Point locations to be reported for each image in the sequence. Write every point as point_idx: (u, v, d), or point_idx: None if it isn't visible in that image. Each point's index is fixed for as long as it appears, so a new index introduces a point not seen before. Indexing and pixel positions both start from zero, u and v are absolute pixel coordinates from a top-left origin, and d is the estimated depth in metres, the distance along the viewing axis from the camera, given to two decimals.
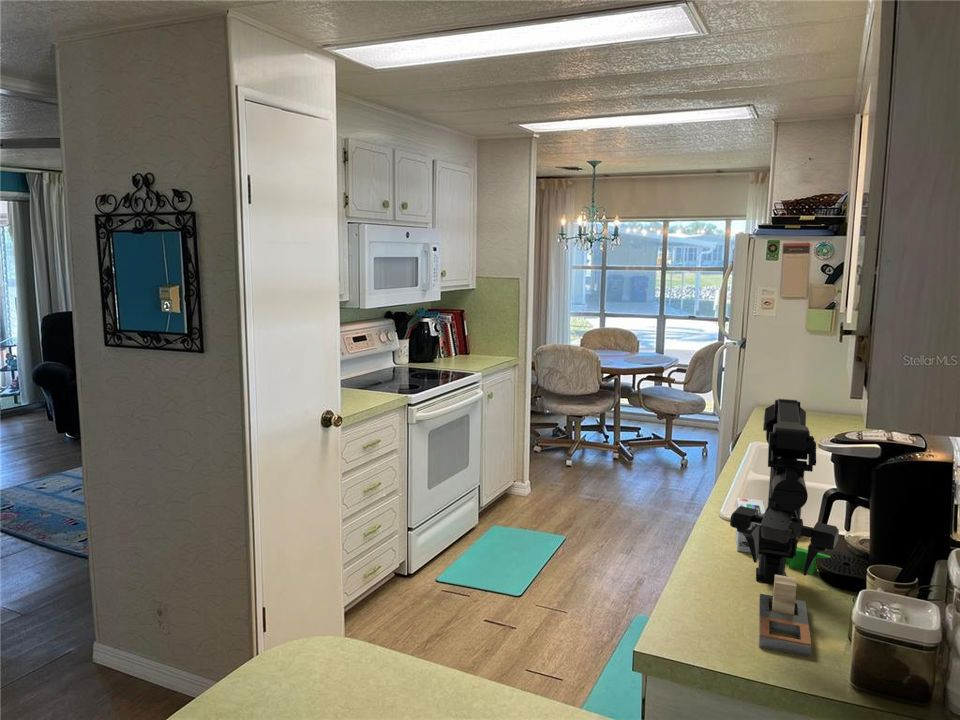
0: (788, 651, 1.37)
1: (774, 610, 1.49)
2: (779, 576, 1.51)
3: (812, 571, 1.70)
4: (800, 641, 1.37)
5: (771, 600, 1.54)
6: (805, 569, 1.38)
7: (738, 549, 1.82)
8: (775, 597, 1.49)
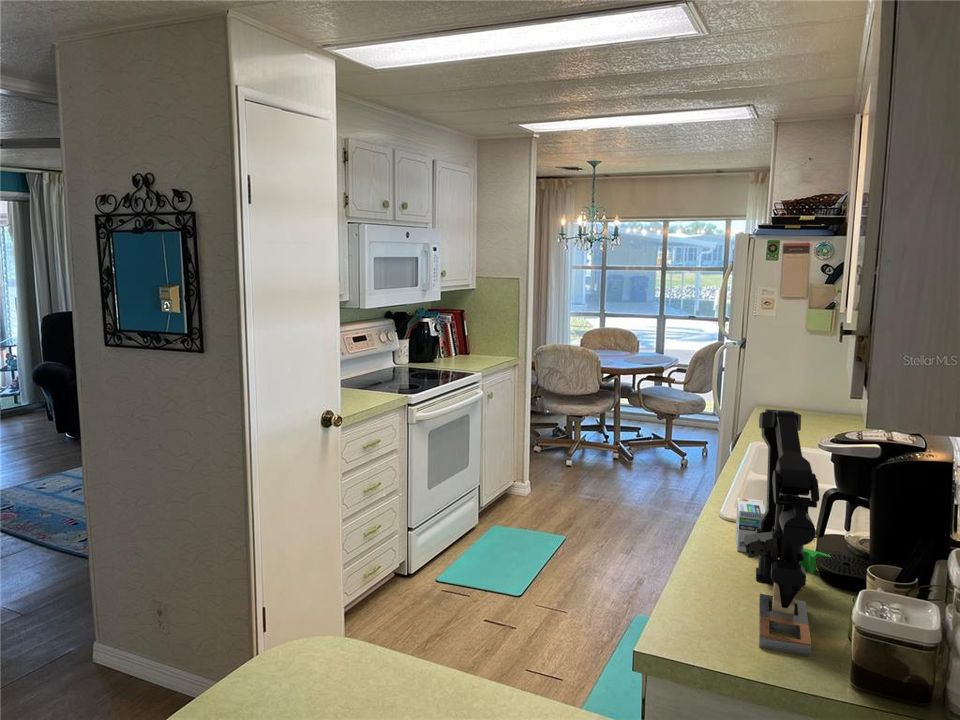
0: (788, 651, 1.37)
1: (774, 610, 1.49)
2: None
3: (813, 570, 1.71)
4: (800, 641, 1.37)
5: (771, 600, 1.54)
6: None
7: (738, 549, 1.82)
8: (775, 597, 1.49)
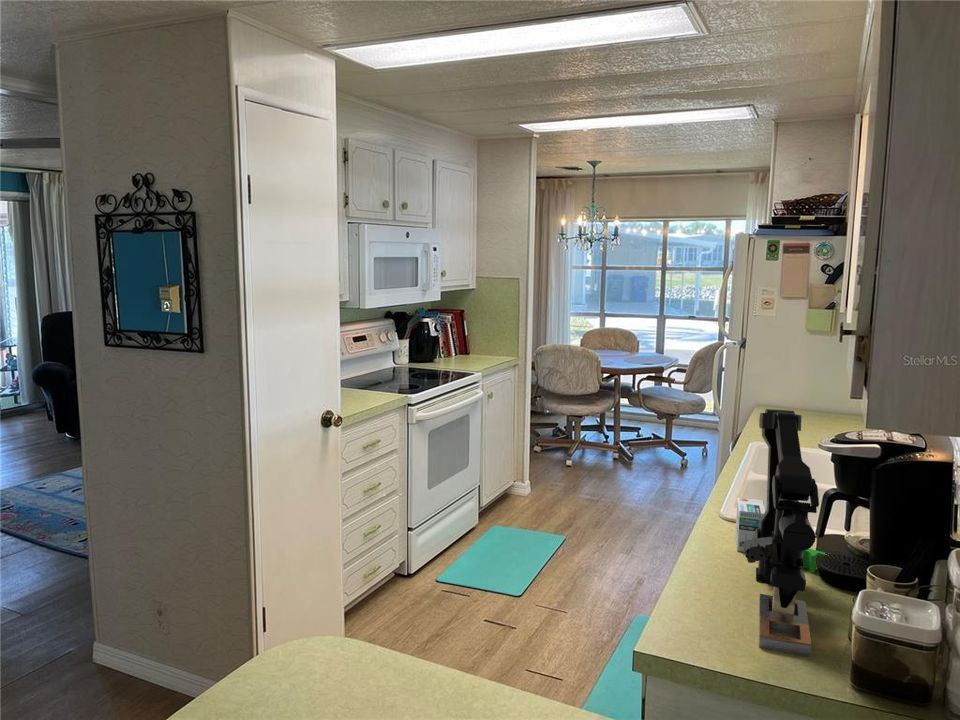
0: (788, 651, 1.37)
1: (774, 610, 1.49)
2: None
3: (813, 570, 1.71)
4: (800, 641, 1.37)
5: (771, 600, 1.54)
6: None
7: (738, 549, 1.82)
8: (775, 597, 1.49)
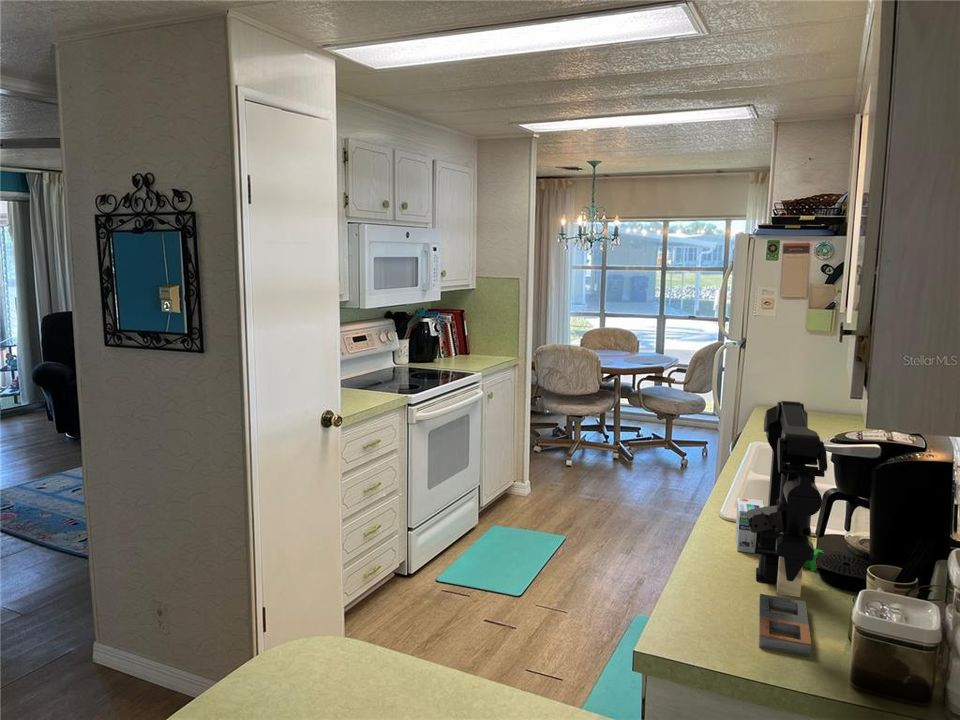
0: (788, 651, 1.37)
1: (779, 584, 1.38)
2: None
3: (814, 568, 1.72)
4: (800, 641, 1.37)
5: (771, 600, 1.54)
6: None
7: (738, 549, 1.82)
8: (780, 569, 1.38)
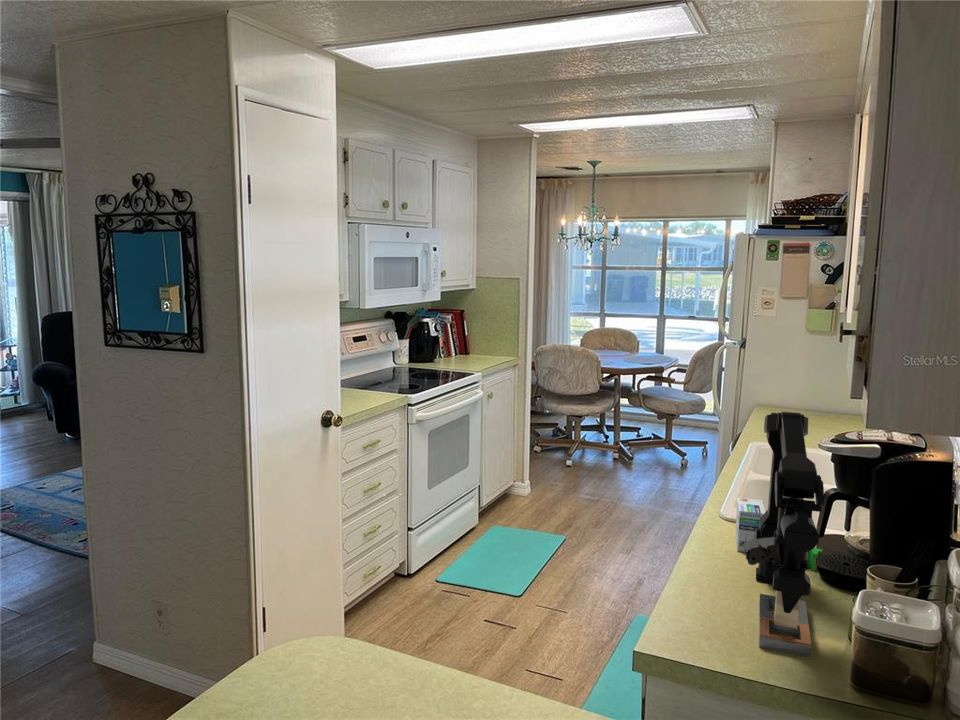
0: (788, 651, 1.37)
1: (777, 615, 1.39)
2: None
3: (815, 568, 1.72)
4: (800, 641, 1.37)
5: (771, 600, 1.54)
6: None
7: (738, 549, 1.82)
8: (778, 601, 1.39)
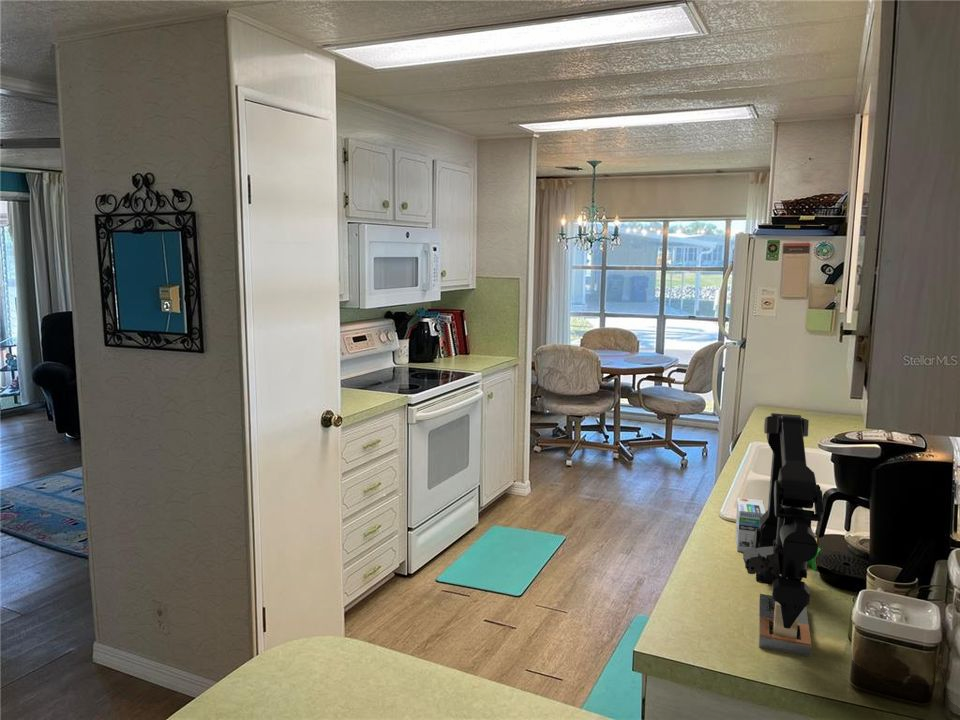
0: (788, 651, 1.37)
1: (775, 634, 1.40)
2: None
3: None
4: (800, 641, 1.37)
5: (771, 600, 1.54)
6: None
7: (738, 549, 1.82)
8: (776, 620, 1.39)
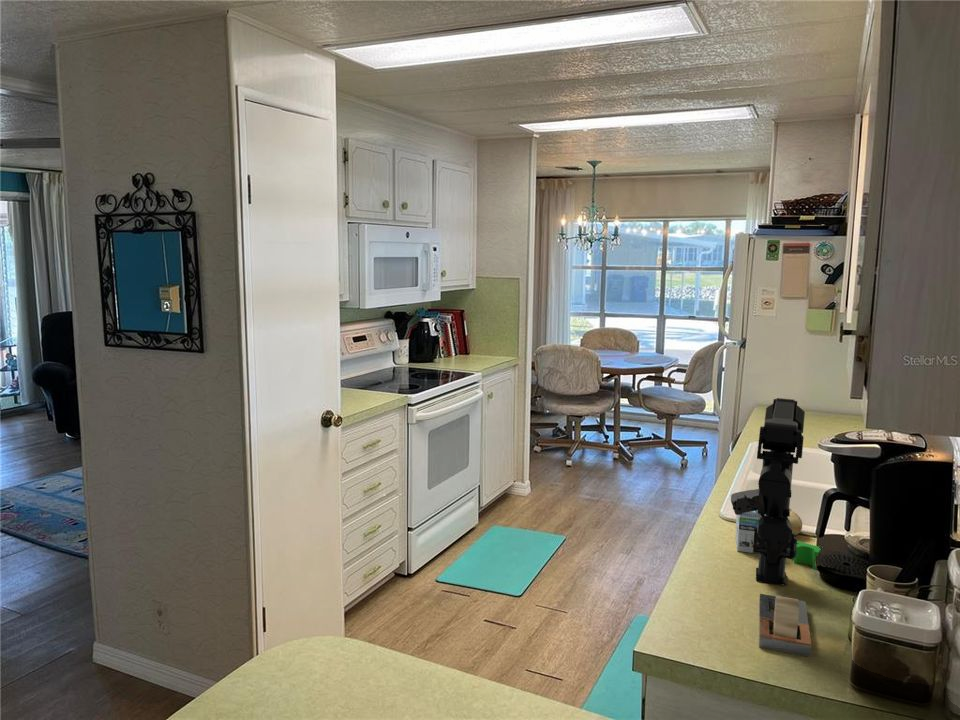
0: (788, 651, 1.37)
1: (775, 634, 1.40)
2: (780, 597, 1.42)
3: None
4: (800, 641, 1.37)
5: (771, 600, 1.54)
6: None
7: (738, 549, 1.82)
8: (776, 620, 1.39)
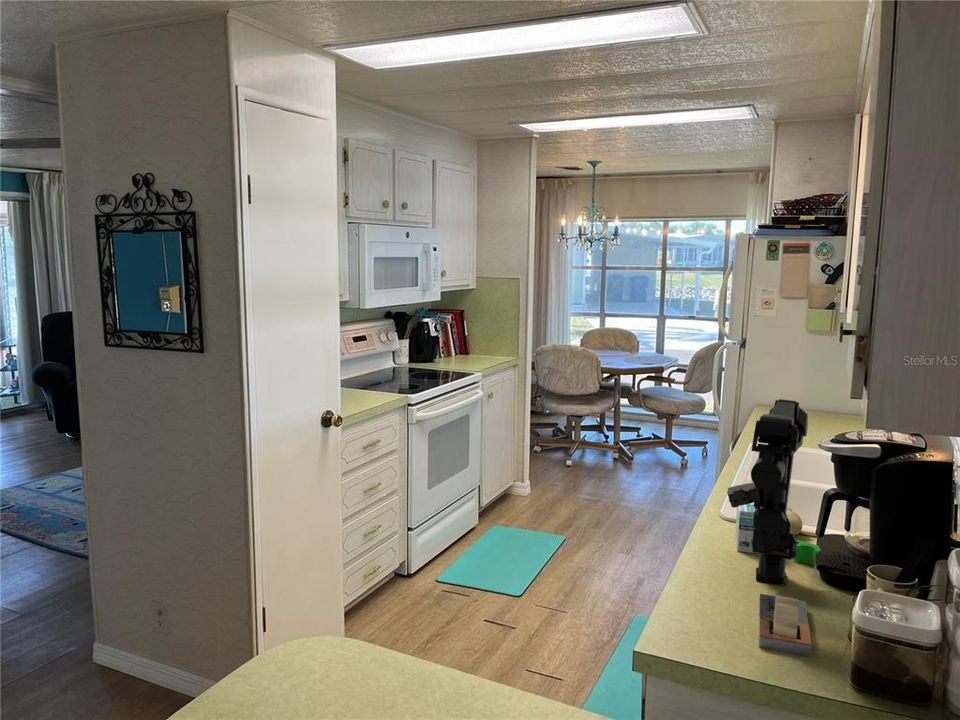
0: (788, 651, 1.37)
1: (775, 634, 1.40)
2: (780, 597, 1.42)
3: None
4: (800, 641, 1.37)
5: (771, 600, 1.54)
6: None
7: (738, 549, 1.82)
8: (776, 620, 1.39)
